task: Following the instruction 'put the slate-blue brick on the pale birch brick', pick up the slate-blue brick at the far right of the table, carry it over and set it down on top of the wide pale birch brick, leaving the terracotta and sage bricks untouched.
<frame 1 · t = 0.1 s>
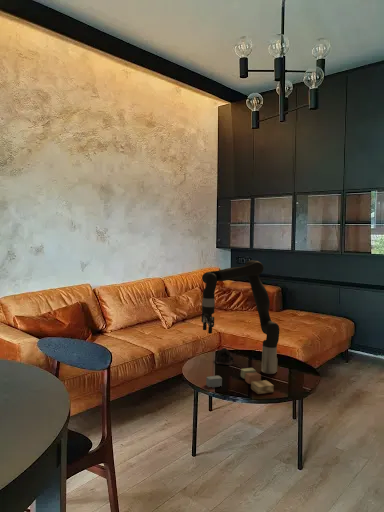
hand: (207, 331, 238), 29 cm above the table, tool pointing down, fingers open, 8 cm apart
sage brick: (247, 377, 244), on the table
terracotta brick: (252, 382, 237), on the table
slate brick: (213, 385, 228), on the table
birch brick: (262, 390, 224), on the table
crystal cluster: (224, 362, 272), on the table
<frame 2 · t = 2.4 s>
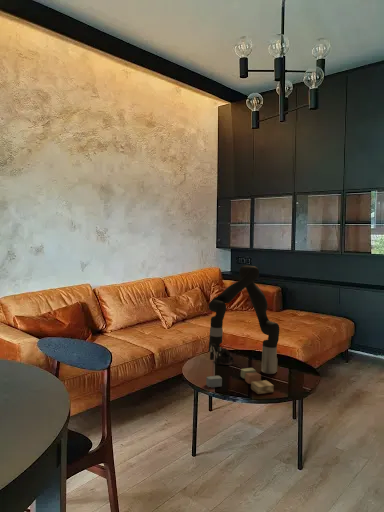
hand: (214, 361, 228), 14 cm above the table, tool pointing down, fingers open, 8 cm apart
nothing on the table moved.
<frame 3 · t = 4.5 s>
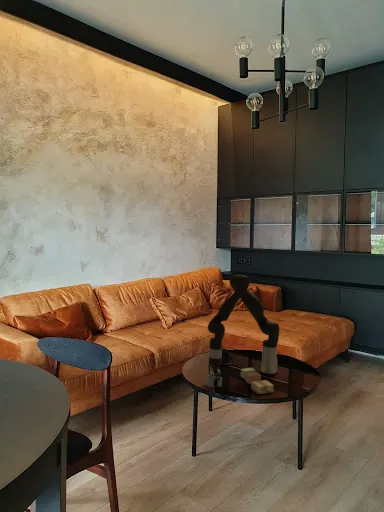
hand: (213, 384, 228), 1 cm above the table, tool pointing down, fingers closed on slate brick, 4 cm apart
slate brick: (213, 385, 228), on the table, touching gripper
everything else where it was.
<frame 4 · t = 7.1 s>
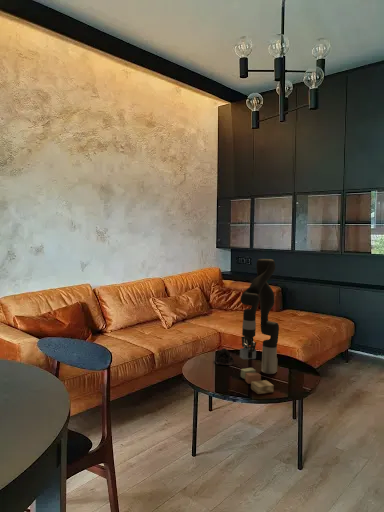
hand: (247, 356, 225), 19 cm above the table, tool pointing down, fingers closed on slate brick, 4 cm apart
slate brick: (247, 357, 225), point 18 cm above the table, touching gripper
everything else where it was.
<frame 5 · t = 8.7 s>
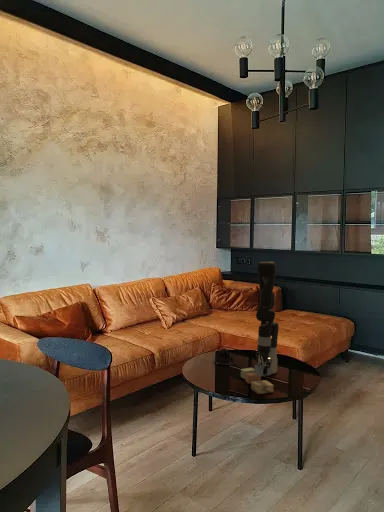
hand: (262, 372, 223), 10 cm above the table, tool pointing down, fingers closed on slate brick, 4 cm apart
slate brick: (262, 374, 223), point 9 cm above the table, touching gripper
when the fingers open (6 cm above the table, at t = 9.9 s): slate brick drops 1 cm, resting on birch brick.
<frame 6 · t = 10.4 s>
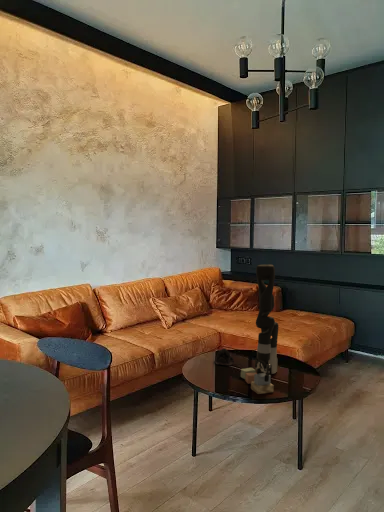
hand: (262, 378, 224), 7 cm above the table, tool pointing down, fingers open, 8 cm apart
slate brick: (262, 383, 224), point 4 cm above the table, touching birch brick
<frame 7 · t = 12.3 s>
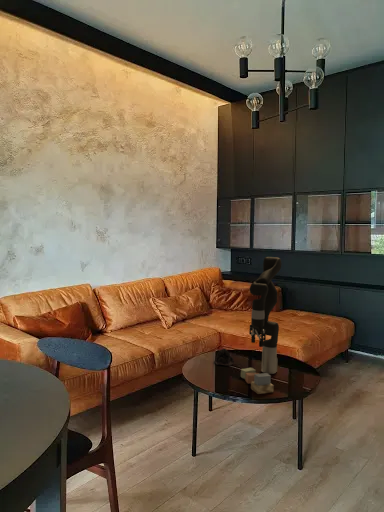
hand: (256, 344, 228), 25 cm above the table, tool pointing down, fingers open, 8 cm apart
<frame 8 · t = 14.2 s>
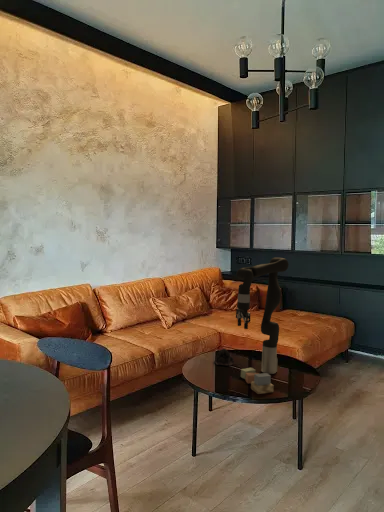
hand: (242, 327, 240), 32 cm above the table, tool pointing down, fingers open, 8 cm apart
at the end: slate brick inside the target area on the birch brick (0.0 cm from its centre), point 4.0 cm above the birch brick's base; terracotta brick moved 0.2 cm from its start; sage brick moved 0.2 cm from its start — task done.
